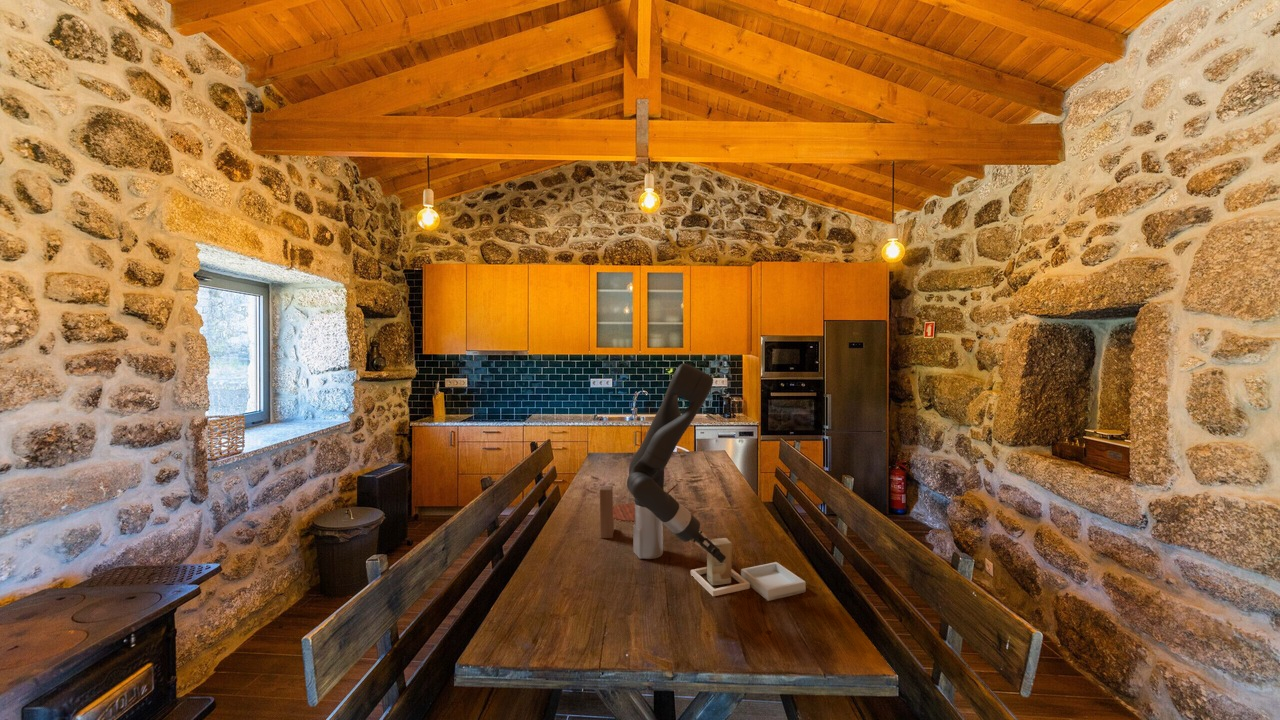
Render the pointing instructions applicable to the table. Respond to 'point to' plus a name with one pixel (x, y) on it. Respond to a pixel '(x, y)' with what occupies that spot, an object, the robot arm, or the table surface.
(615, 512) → the incense holder
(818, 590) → the table surface
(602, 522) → the wooden block
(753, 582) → the tray
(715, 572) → the skincare box
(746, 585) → the holder
